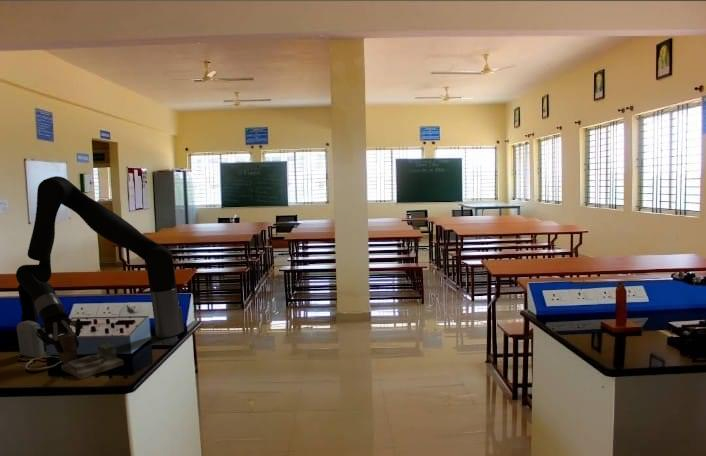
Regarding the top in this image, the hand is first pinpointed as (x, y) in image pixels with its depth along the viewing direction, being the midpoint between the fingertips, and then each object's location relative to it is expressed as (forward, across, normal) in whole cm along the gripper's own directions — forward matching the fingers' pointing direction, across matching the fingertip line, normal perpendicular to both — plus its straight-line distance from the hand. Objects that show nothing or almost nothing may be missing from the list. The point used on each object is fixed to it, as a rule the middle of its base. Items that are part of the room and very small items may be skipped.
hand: (69, 349), depth 167 cm
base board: (+12, +2, -5) cm, 13 cm away
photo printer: (-14, -4, +20) cm, 25 cm away
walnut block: (+2, 0, +5) cm, 5 cm away
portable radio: (-31, +4, +38) cm, 49 cm away
